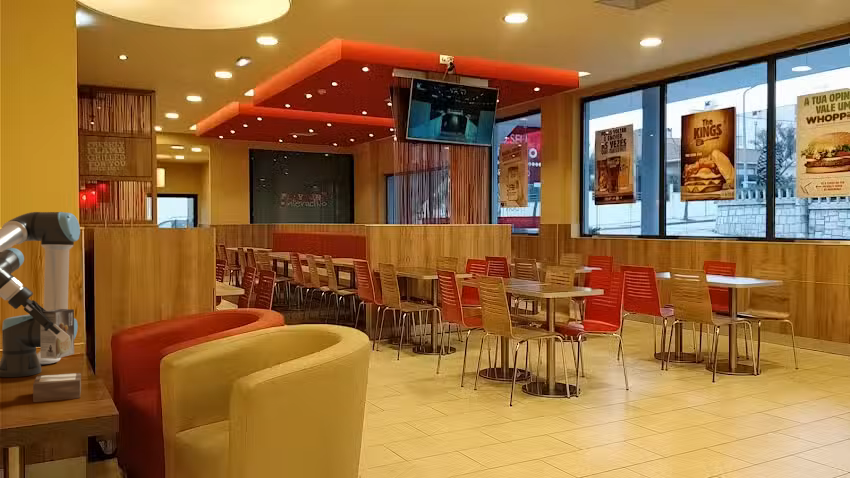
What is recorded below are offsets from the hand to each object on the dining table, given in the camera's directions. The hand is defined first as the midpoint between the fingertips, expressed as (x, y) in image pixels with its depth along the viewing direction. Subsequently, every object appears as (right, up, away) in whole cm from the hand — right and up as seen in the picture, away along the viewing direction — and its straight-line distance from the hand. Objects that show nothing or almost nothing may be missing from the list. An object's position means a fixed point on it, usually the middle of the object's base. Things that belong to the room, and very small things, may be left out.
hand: (67, 337), depth 241 cm
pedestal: (-3, -20, -1) cm, 20 cm away
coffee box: (-3, -7, -1) cm, 7 cm away
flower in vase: (-38, -19, +56) cm, 70 cm away
